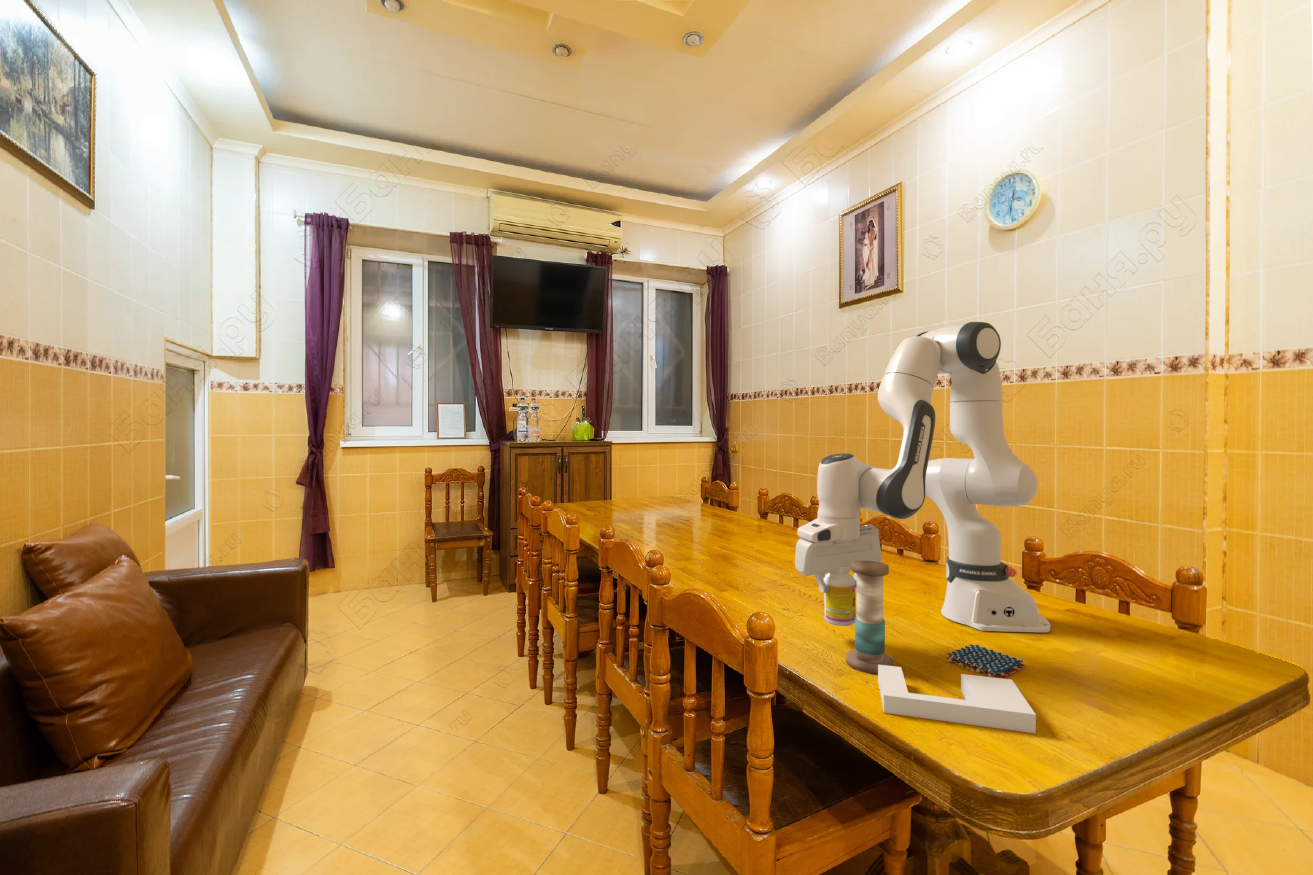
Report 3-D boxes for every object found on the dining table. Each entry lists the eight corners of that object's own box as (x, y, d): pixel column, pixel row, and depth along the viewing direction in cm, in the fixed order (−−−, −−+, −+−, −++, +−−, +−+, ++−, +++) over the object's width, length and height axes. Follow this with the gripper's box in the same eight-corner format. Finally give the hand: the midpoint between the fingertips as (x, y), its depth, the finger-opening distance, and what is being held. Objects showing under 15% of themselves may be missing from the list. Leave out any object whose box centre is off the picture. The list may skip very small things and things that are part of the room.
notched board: (1011, 696, 98) (1011, 679, 98) (1035, 733, 87) (1035, 714, 86) (878, 680, 105) (878, 664, 104) (883, 712, 93) (883, 695, 93)
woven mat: (999, 684, 104) (999, 673, 103) (944, 663, 113) (944, 653, 113) (1027, 670, 109) (1028, 660, 109) (973, 651, 118) (973, 641, 118)
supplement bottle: (858, 627, 119) (857, 568, 119) (826, 626, 121) (824, 568, 120) (853, 616, 126) (852, 560, 125) (823, 615, 127) (822, 559, 126)
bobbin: (891, 656, 114) (891, 560, 114) (896, 676, 106) (896, 572, 105) (845, 651, 117) (845, 558, 116) (846, 670, 109) (846, 569, 108)
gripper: (868, 520, 128) (869, 579, 129) (790, 529, 122) (792, 591, 123) (887, 526, 122) (888, 587, 123) (806, 535, 116) (808, 600, 117)
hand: (839, 589), depth 123 cm, fingers closed on supplement bottle, 7 cm apart
